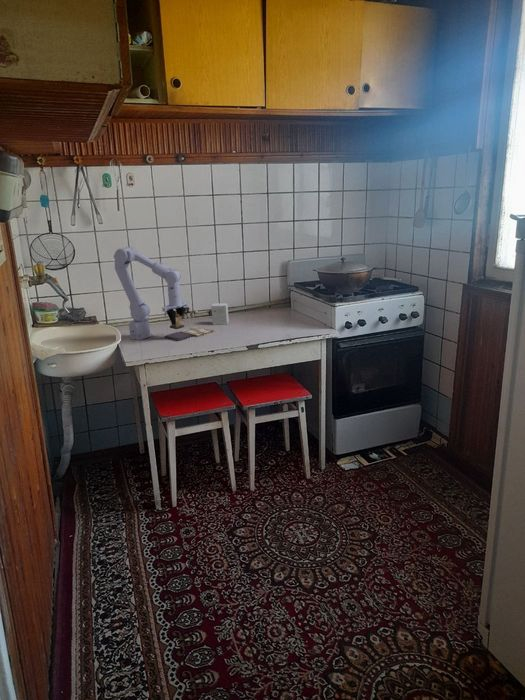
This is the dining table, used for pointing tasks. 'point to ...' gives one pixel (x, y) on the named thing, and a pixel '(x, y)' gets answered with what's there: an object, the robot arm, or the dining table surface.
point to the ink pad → (178, 336)
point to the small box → (220, 313)
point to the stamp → (177, 322)
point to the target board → (196, 331)
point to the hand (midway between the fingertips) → (176, 323)
